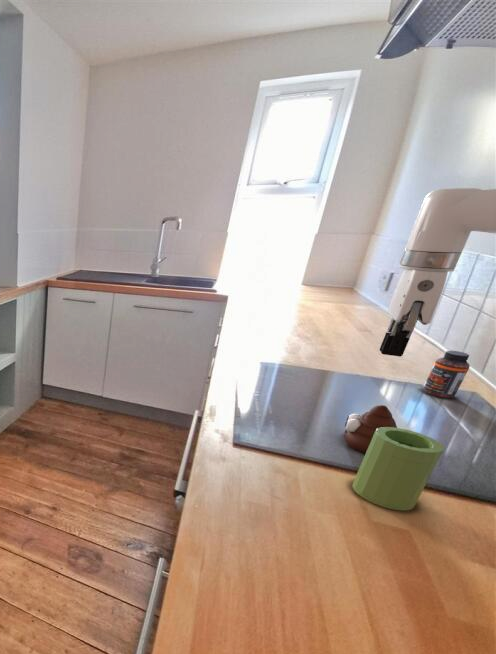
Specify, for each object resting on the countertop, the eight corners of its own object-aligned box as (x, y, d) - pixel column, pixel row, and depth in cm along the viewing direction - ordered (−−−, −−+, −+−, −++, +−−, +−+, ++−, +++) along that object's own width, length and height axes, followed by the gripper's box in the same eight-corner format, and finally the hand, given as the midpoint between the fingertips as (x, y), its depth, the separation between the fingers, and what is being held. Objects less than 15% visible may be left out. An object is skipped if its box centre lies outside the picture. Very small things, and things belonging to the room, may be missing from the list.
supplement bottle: (415, 390, 108) (434, 350, 104) (430, 388, 110) (449, 347, 106) (445, 400, 103) (465, 357, 99) (460, 397, 105) (481, 355, 100)
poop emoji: (393, 463, 78) (413, 419, 74) (336, 446, 84) (352, 405, 80) (395, 443, 85) (414, 402, 81) (342, 429, 90) (357, 390, 86)
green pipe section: (372, 477, 74) (396, 424, 70) (426, 505, 67) (456, 447, 63) (341, 485, 72) (363, 430, 68) (393, 514, 65) (422, 456, 61)
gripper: (470, 267, 69) (424, 368, 77) (444, 258, 81) (406, 347, 88) (410, 264, 73) (371, 361, 81) (393, 256, 85) (361, 341, 92)
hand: (390, 353), depth 85 cm, fingers closed
